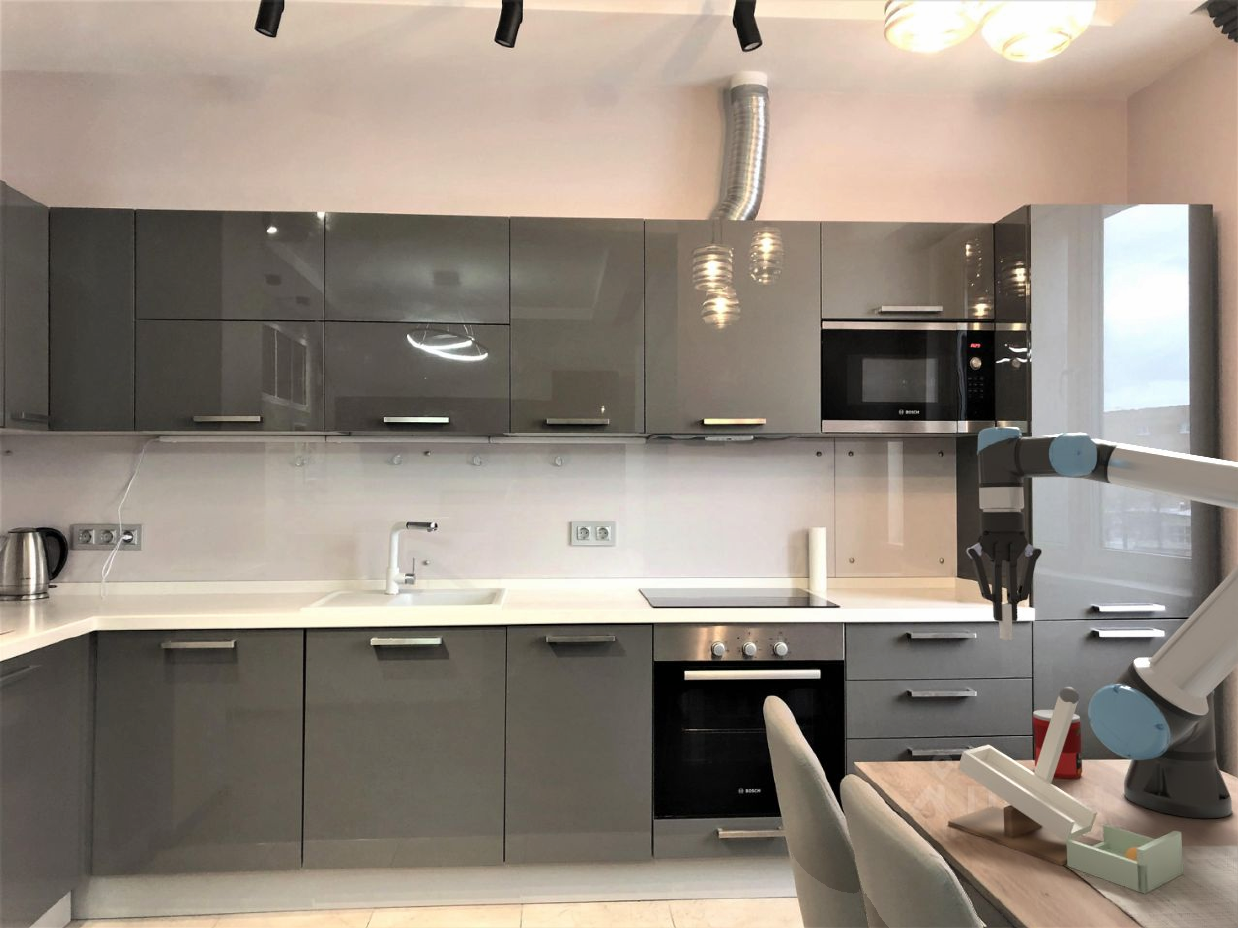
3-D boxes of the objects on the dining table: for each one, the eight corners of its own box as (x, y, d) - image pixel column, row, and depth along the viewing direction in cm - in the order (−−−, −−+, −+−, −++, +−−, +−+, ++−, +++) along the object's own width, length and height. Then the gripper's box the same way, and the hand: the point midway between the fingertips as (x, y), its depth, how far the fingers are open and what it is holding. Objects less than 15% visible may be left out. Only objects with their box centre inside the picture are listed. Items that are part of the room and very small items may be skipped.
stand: (948, 824, 128) (947, 793, 129) (992, 809, 135) (991, 780, 135) (1061, 865, 113) (1060, 830, 114) (1105, 846, 120) (1103, 813, 120)
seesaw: (957, 768, 130) (988, 665, 126) (991, 759, 135) (1022, 659, 131) (1065, 841, 115) (1104, 727, 111) (1098, 827, 120) (1136, 717, 116)
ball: (1137, 844, 113) (1157, 866, 111) (1118, 858, 113) (1138, 879, 110) (1139, 839, 110) (1159, 861, 108) (1120, 853, 110) (1140, 875, 108)
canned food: (1088, 780, 149) (1086, 720, 150) (1042, 777, 151) (1039, 718, 151) (1074, 767, 157) (1072, 710, 157) (1029, 765, 158) (1027, 708, 159)
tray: (1067, 865, 113) (1065, 825, 114) (1106, 848, 119) (1105, 810, 119) (1145, 893, 105) (1143, 850, 105) (1183, 873, 111) (1181, 832, 111)
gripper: (1032, 510, 152) (1037, 636, 151) (959, 511, 155) (963, 635, 153) (1046, 510, 145) (1051, 642, 144) (969, 510, 147) (973, 641, 146)
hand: (1006, 638), depth 148 cm, fingers closed
